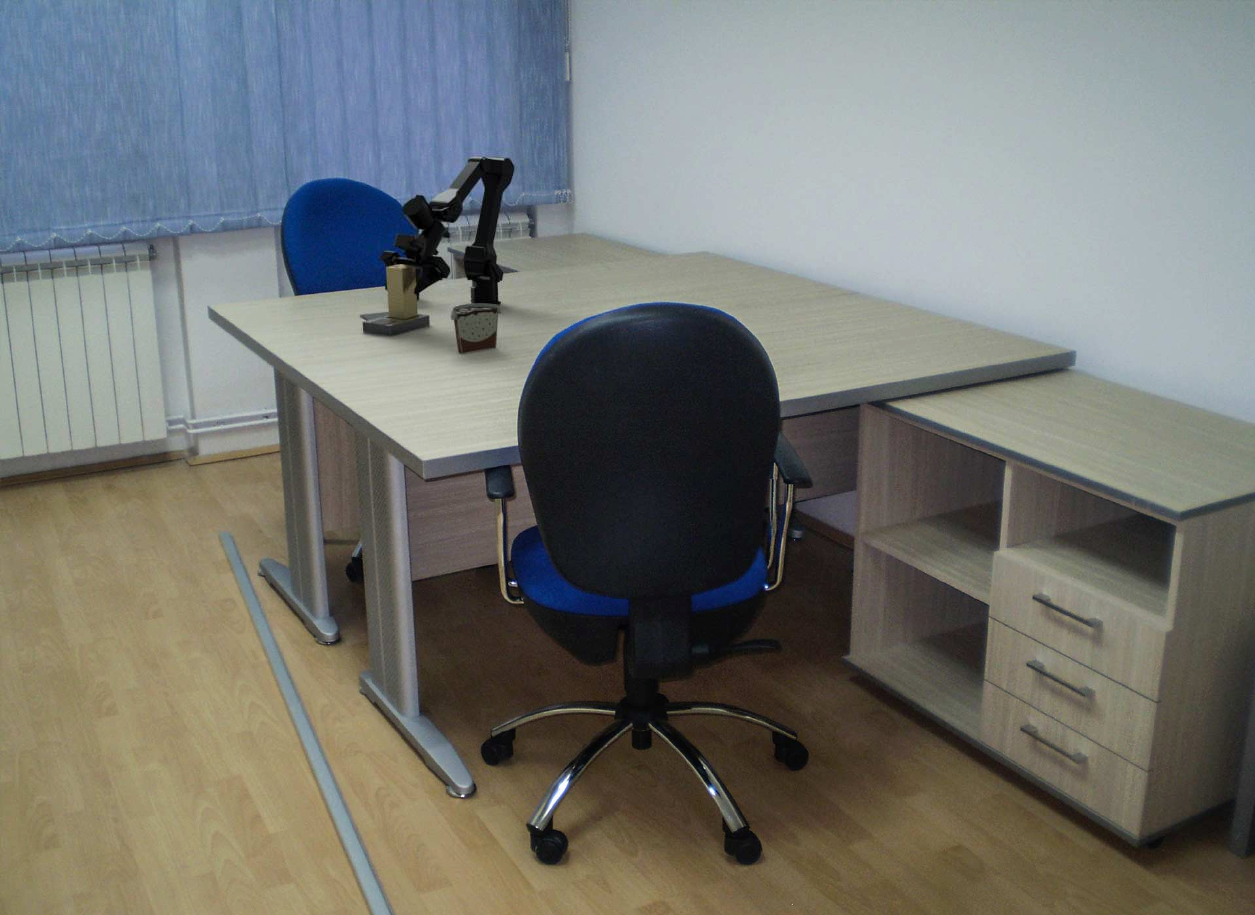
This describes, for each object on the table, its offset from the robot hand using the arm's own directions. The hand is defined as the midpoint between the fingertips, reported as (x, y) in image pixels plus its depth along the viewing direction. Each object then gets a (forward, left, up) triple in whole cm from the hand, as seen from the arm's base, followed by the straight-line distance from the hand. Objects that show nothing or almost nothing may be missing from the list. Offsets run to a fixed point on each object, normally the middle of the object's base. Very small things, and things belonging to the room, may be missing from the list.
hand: (400, 291), depth 313 cm
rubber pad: (0, -12, -9) cm, 15 cm away
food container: (-6, +30, -9) cm, 32 cm away
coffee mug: (-14, -33, -9) cm, 37 cm away
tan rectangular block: (-1, 0, -9) cm, 9 cm away
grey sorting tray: (+2, +1, -9) cm, 9 cm away
